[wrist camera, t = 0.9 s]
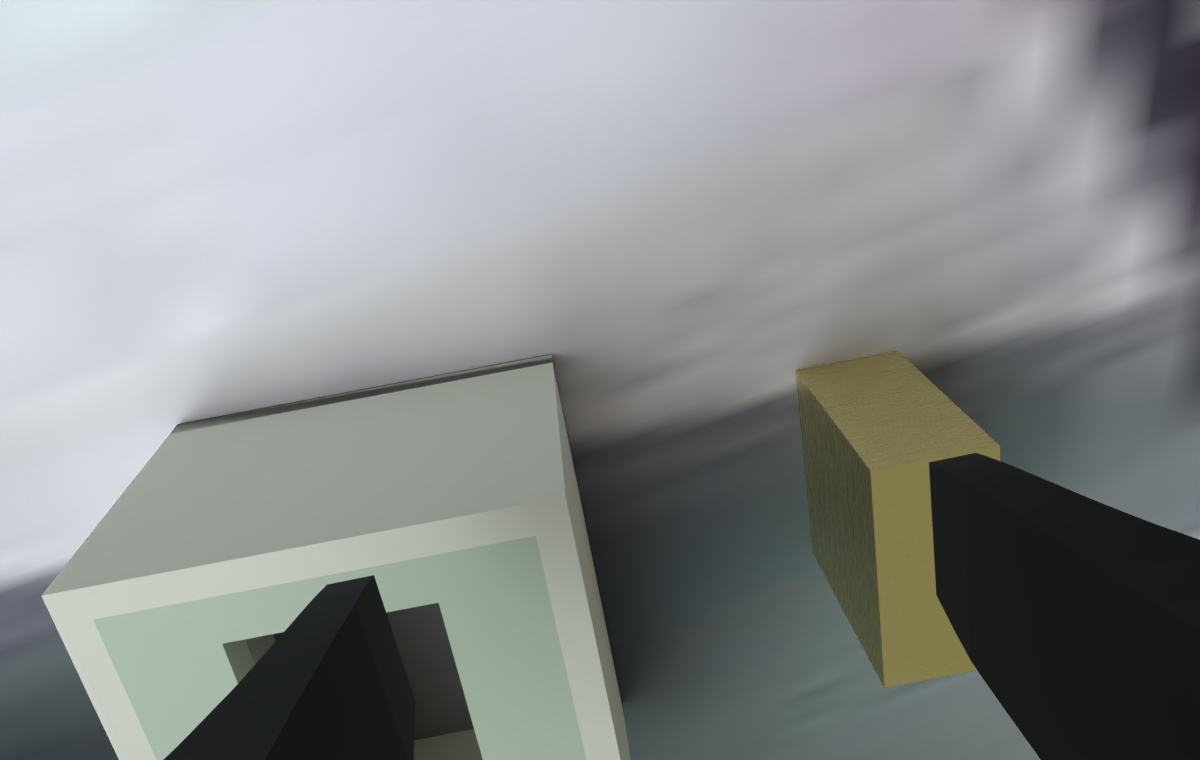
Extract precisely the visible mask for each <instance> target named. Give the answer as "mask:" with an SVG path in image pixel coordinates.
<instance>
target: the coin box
mask: <svg viewBox="0 0 1200 760" xmlns="http://www.w3.org/2000/svg"><path fill="white" fill-rule="evenodd" d="M372 575H374V577H375V580H376V583H377V586H378V589H379V592H380V595H381V598H382V601H383V604H384V607H385V610H386V613H387V616H388V619H389V622H390V626H391V629H392V632H393V635H394V638H395V641H396V644H397V647H398V650H399V653H400V656H401V659H402V662H403V665H404V668H405V671H406V674H407V677H408V680H409V683H410V686H411V689H412V692H413V696H414V699H415V738H414V760H631V759H630V752H629V746H628V739H627V732H626V726H625V719H624V712H623V706H622V701H621V696H620V691H619V686H618V681H617V676H616V671H615V666H614V661H613V656H612V651H611V646H610V641H609V636H608V631H607V626H606V621H605V616H604V611H603V606H602V601H601V596H600V591H599V586H598V581H597V577H596V572H595V567H594V562H593V557H592V552H591V547H590V542H589V537H588V532H587V527H586V522H585V517H584V512H583V507H582V502H581V497H580V492H579V487H578V482H577V477H576V472H575V467H574V462H573V457H572V452H571V448H570V443H569V438H568V433H567V428H566V423H565V418H564V413H563V408H562V403H561V398H560V393H559V388H558V383H557V378H556V373H555V368H554V363H553V358H552V354H551V355H546V356H541V357H535V358H530V359H525V360H519V361H514V362H509V363H503V364H498V365H493V366H487V367H482V368H477V369H471V370H466V371H460V372H455V373H450V374H444V375H439V376H434V377H428V378H423V379H418V380H412V381H407V382H402V383H396V384H391V385H386V386H380V387H375V388H370V389H364V390H359V391H354V392H348V393H343V394H338V395H332V396H327V397H322V398H316V399H311V400H306V401H300V402H295V403H290V404H284V405H279V406H274V407H268V408H263V409H258V410H252V411H247V412H241V413H236V414H231V415H225V416H220V417H215V418H209V419H204V420H199V421H193V422H188V423H183V424H178V425H177V426H176V427H175V428H174V430H173V431H172V432H171V434H170V435H169V436H168V437H167V439H166V440H165V441H164V442H163V444H162V445H161V446H160V447H159V449H158V450H157V451H156V452H155V454H154V455H153V456H152V457H151V459H150V460H149V461H148V462H147V464H146V465H145V466H144V467H143V469H142V470H141V471H140V472H139V474H138V475H137V476H136V477H135V479H134V480H133V481H132V483H131V484H130V485H129V486H128V488H127V489H126V490H125V491H124V493H123V494H122V495H121V496H120V498H119V499H118V500H117V501H116V503H115V504H114V505H113V506H112V508H111V509H110V510H109V511H108V513H107V514H106V515H105V516H104V518H103V519H102V520H101V521H100V523H99V524H98V525H97V527H96V528H95V529H94V530H93V532H92V533H91V534H90V535H89V537H88V538H87V539H86V540H85V542H84V543H83V544H82V545H81V547H80V548H79V549H78V550H77V552H76V553H75V554H74V555H73V557H72V558H71V559H70V560H69V562H68V563H67V564H66V565H65V567H64V568H63V569H62V571H61V572H60V573H59V574H58V576H57V577H56V578H55V579H54V581H53V582H52V583H51V584H50V586H49V587H48V588H47V589H46V591H45V592H44V593H43V594H42V598H43V600H44V602H45V605H46V607H47V609H48V611H49V613H50V615H51V617H52V619H53V621H54V624H55V626H56V628H57V630H58V632H59V634H60V636H61V638H62V640H63V642H64V645H65V647H66V649H67V651H68V653H69V655H70V657H71V659H72V661H73V664H74V666H75V668H76V670H77V672H78V674H79V676H80V678H81V680H82V683H83V685H84V687H85V689H86V691H87V693H88V695H89V697H90V699H91V702H92V704H93V706H94V708H95V710H96V712H97V714H98V716H99V718H100V721H101V723H102V725H103V727H104V729H105V731H106V733H107V735H108V737H109V740H110V742H111V744H112V746H113V748H114V750H115V752H116V754H117V756H118V759H119V760H164V759H165V758H166V757H167V756H168V755H169V754H170V753H171V752H172V751H173V750H174V749H175V748H176V747H177V746H178V745H179V744H180V743H181V742H182V741H183V740H184V739H185V738H186V737H187V736H188V735H189V734H190V733H191V732H192V731H193V730H194V729H195V728H196V727H197V726H198V725H199V724H200V723H201V722H202V721H203V720H204V718H205V717H206V716H207V715H208V714H209V713H210V712H211V711H212V710H213V709H214V708H215V707H216V706H217V705H218V704H219V703H220V702H221V701H222V700H223V699H224V698H225V697H226V696H227V695H228V694H229V693H230V692H231V691H232V690H233V689H234V688H235V686H236V685H237V684H238V683H239V682H240V681H241V680H242V679H243V678H244V676H245V675H246V674H247V673H248V672H249V671H250V670H251V669H252V668H253V666H254V665H255V664H256V663H257V662H258V661H259V660H260V659H261V657H262V656H263V655H264V654H265V653H266V652H267V651H268V650H269V648H270V647H271V646H272V645H273V644H274V643H275V642H276V641H277V639H278V638H279V637H280V636H281V635H282V634H283V632H284V631H285V630H286V629H287V628H288V627H289V626H290V624H291V623H292V622H293V621H294V620H295V619H296V618H297V616H298V615H299V614H300V613H301V612H302V611H303V610H304V608H305V607H306V606H307V605H308V604H309V603H310V602H311V601H312V600H313V598H314V597H315V596H316V595H317V594H318V593H319V592H320V591H321V590H322V589H323V588H324V587H325V586H326V585H327V584H332V583H337V582H342V581H347V580H352V579H357V578H362V577H367V576H372Z"/></svg>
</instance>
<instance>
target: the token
mask: <svg viewBox="0 0 1200 760" xmlns="http://www.w3.org/2000/svg"><path fill="white" fill-rule="evenodd" d="M796 380H797V390H798V401H799V411H800V422H801V432H802V443H803V453H804V463H805V474H806V484H807V495H808V505H809V516H810V526H811V536H812V547H813V554H814V556H815V558H816V560H817V562H818V564H819V566H820V568H821V569H822V571H823V573H824V575H825V577H826V579H827V581H828V583H829V585H830V586H831V588H832V590H833V592H834V594H835V596H836V598H837V600H838V601H839V603H840V605H841V607H842V609H843V611H844V613H845V615H846V616H847V618H848V620H849V622H850V624H851V626H852V628H853V630H854V631H855V633H856V635H857V637H858V639H859V641H860V643H861V645H862V646H863V648H864V650H865V652H866V654H867V656H868V658H869V660H870V662H871V663H872V665H873V667H874V669H875V671H876V673H877V675H878V677H879V678H880V680H881V682H882V684H883V686H884V688H887V687H892V686H897V685H902V684H908V683H913V682H918V681H923V680H928V679H934V678H939V677H944V676H949V675H954V674H960V673H965V672H970V671H975V670H977V669H976V668H975V666H974V665H973V663H972V662H971V660H970V658H969V657H968V655H967V653H966V651H965V649H964V647H963V645H962V644H961V642H960V640H959V638H958V636H957V634H956V633H955V631H954V629H953V627H952V625H951V623H950V621H949V619H948V617H947V615H946V613H945V611H944V609H943V607H942V605H941V603H940V601H939V599H938V597H937V595H936V580H935V562H934V545H933V527H932V509H931V491H930V474H929V462H933V461H938V460H943V459H948V458H953V457H958V456H962V455H967V454H972V453H978V454H981V455H984V456H987V457H990V458H993V459H996V460H998V461H1000V445H998V444H997V443H996V442H995V441H994V440H993V439H992V438H991V437H990V436H989V435H988V434H987V433H986V432H984V431H983V430H982V429H981V428H980V427H979V426H978V425H977V424H976V423H975V422H974V421H973V420H972V419H971V418H969V417H968V416H967V415H966V414H965V413H964V412H963V411H962V410H961V409H960V408H959V407H958V406H957V405H955V404H954V403H953V402H952V401H951V400H950V399H949V398H948V397H947V396H946V395H945V394H944V393H943V392H941V391H940V390H939V389H938V388H937V387H936V386H935V385H934V384H933V383H932V382H931V381H930V380H929V379H927V378H926V377H925V376H924V375H923V374H922V373H921V372H920V371H919V370H918V369H917V368H916V367H915V366H914V365H912V364H911V363H910V362H909V361H908V360H907V359H906V358H905V357H904V356H903V355H902V354H901V353H900V352H898V351H897V352H891V353H886V354H881V355H875V356H870V357H865V358H859V359H854V360H849V361H843V362H838V363H833V364H828V365H822V366H817V367H812V368H806V369H801V370H796Z"/></svg>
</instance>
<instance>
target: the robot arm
mask: <svg viewBox="0 0 1200 760" xmlns="http://www.w3.org/2000/svg"><path fill="white" fill-rule="evenodd" d="M929 474H930V491H931V509H932V527H933V545H934V562H935V580H936V595H937V597H938V599H939V601H940V603H941V605H942V607H943V609H944V611H945V613H946V615H947V617H948V619H949V621H950V623H951V625H952V627H953V629H954V631H955V633H956V634H957V636H958V638H959V640H960V642H961V644H962V645H963V647H964V649H965V651H966V653H967V655H968V657H969V658H970V660H971V662H972V663H973V665H974V666H975V668H976V669H977V670H978V672H979V673H980V675H981V676H982V678H983V679H984V681H985V682H986V683H987V685H988V686H989V688H990V689H991V690H992V692H993V693H994V695H995V696H996V698H997V699H998V700H999V702H1000V703H1001V705H1002V706H1003V707H1004V709H1005V710H1006V712H1007V713H1008V714H1009V716H1010V717H1011V719H1012V720H1013V721H1014V723H1015V724H1016V726H1017V727H1018V728H1019V730H1020V731H1021V733H1022V734H1023V735H1024V737H1025V738H1026V740H1027V741H1028V742H1029V744H1030V745H1031V747H1032V748H1033V749H1034V751H1035V752H1036V753H1037V755H1038V756H1039V758H1040V759H1041V760H1200V540H1199V539H1196V538H1193V537H1190V536H1187V535H1184V534H1182V533H1179V532H1176V531H1173V530H1170V529H1167V528H1164V527H1162V526H1159V525H1156V524H1153V523H1151V522H1148V521H1145V520H1143V519H1140V518H1138V517H1135V516H1132V515H1130V514H1127V513H1124V512H1122V511H1119V510H1117V509H1114V508H1112V507H1109V506H1107V505H1104V504H1102V503H1100V502H1097V501H1095V500H1092V499H1090V498H1087V497H1085V496H1082V495H1080V494H1078V493H1075V492H1073V491H1070V490H1068V489H1066V488H1063V487H1061V486H1059V485H1056V484H1054V483H1052V482H1049V481H1047V480H1044V479H1042V478H1040V477H1037V476H1035V475H1033V474H1030V473H1028V472H1025V471H1023V470H1021V469H1018V468H1016V467H1013V466H1011V465H1008V464H1006V463H1003V462H1001V461H998V460H996V459H993V458H990V457H987V456H984V455H981V454H978V453H972V454H967V455H962V456H958V457H953V458H948V459H943V460H938V461H933V462H929ZM414 738H415V699H414V696H413V692H412V689H411V686H410V683H409V680H408V677H407V674H406V671H405V668H404V665H403V662H402V659H401V656H400V653H399V650H398V647H397V644H396V641H395V638H394V635H393V632H392V629H391V626H390V622H389V619H388V616H387V613H386V610H385V607H384V604H383V601H382V598H381V595H380V592H379V589H378V586H377V583H376V580H375V577H374V575H372V576H367V577H362V578H357V579H352V580H347V581H342V582H337V583H332V584H327V585H326V586H325V587H324V588H323V589H322V590H321V591H320V592H319V593H318V594H317V595H316V596H315V597H314V598H313V600H312V601H311V602H310V603H309V604H308V605H307V606H306V607H305V608H304V610H303V611H302V612H301V613H300V614H299V615H298V616H297V618H296V619H295V620H294V621H293V622H292V623H291V624H290V626H289V627H288V628H287V629H286V630H285V631H284V632H283V634H282V635H281V636H280V637H279V638H278V639H277V641H276V642H275V643H274V644H273V645H272V646H271V647H270V648H269V650H268V651H267V652H266V653H265V654H264V655H263V656H262V657H261V659H260V660H259V661H258V662H257V663H256V664H255V665H254V666H253V668H252V669H251V670H250V671H249V672H248V673H247V674H246V675H245V676H244V678H243V679H242V680H241V681H240V682H239V683H238V684H237V685H236V686H235V688H234V689H233V690H232V691H231V692H230V693H229V694H228V695H227V696H226V697H225V698H224V699H223V700H222V701H221V702H220V703H219V704H218V705H217V706H216V707H215V708H214V709H213V710H212V711H211V712H210V713H209V714H208V715H207V716H206V717H205V718H204V720H203V721H202V722H201V723H200V724H199V725H198V726H197V727H196V728H195V729H194V730H193V731H192V732H191V733H190V734H189V735H188V736H187V737H186V738H185V739H184V740H183V741H182V742H181V743H180V744H179V745H178V746H177V747H176V748H175V749H174V750H173V751H172V752H171V753H170V754H169V755H168V756H167V757H166V758H165V759H164V760H414Z"/></svg>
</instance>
